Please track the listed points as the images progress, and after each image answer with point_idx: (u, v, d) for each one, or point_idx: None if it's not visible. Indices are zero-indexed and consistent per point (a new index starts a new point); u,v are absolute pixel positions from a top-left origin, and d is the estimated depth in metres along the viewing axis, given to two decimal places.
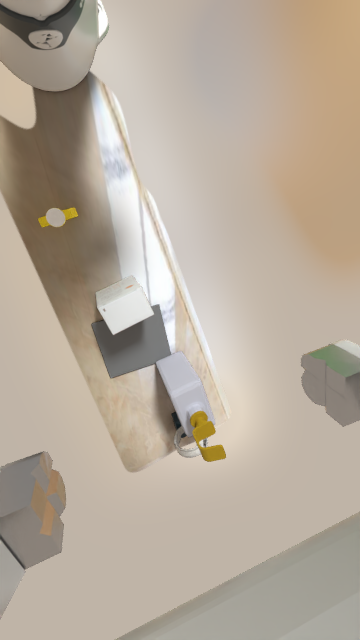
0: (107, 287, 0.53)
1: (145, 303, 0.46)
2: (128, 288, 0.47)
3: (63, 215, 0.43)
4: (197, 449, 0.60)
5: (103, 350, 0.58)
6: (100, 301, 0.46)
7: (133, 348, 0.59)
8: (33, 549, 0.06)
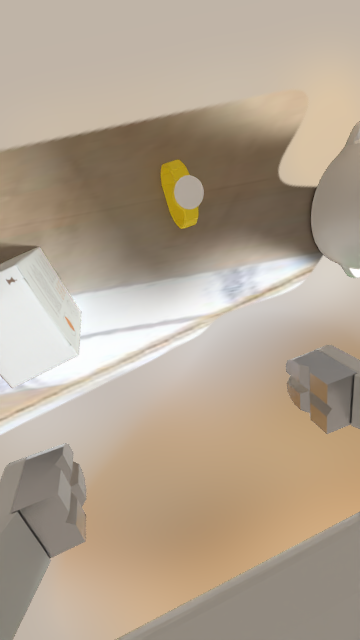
0: (53, 270, 0.28)
1: (38, 369, 0.21)
2: (67, 324, 0.23)
3: (192, 206, 0.25)
4: None
5: None
6: (29, 267, 0.21)
7: None
8: (59, 538, 0.06)
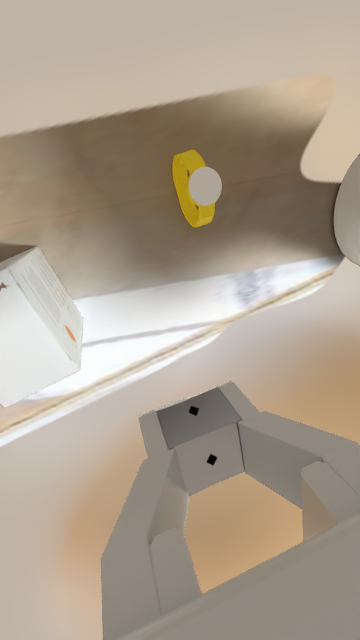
0: (53, 272, 0.25)
1: (34, 386, 0.18)
2: (67, 334, 0.20)
3: (208, 202, 0.22)
4: None
5: None
6: (24, 270, 0.18)
7: None
8: (198, 477, 0.07)
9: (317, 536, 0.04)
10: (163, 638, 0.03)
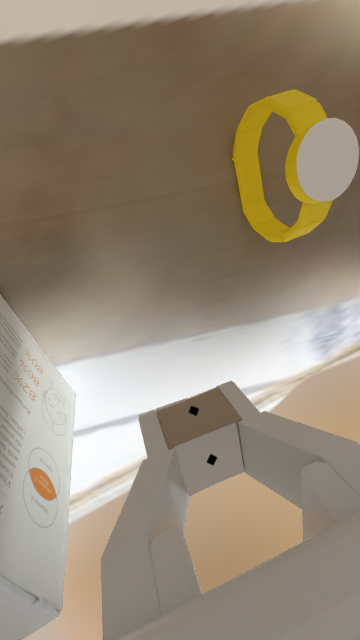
0: (18, 326, 0.14)
1: None
2: (34, 500, 0.09)
3: (330, 196, 0.11)
4: None
5: None
6: None
7: None
8: (198, 477, 0.07)
9: (317, 536, 0.04)
10: (163, 638, 0.03)
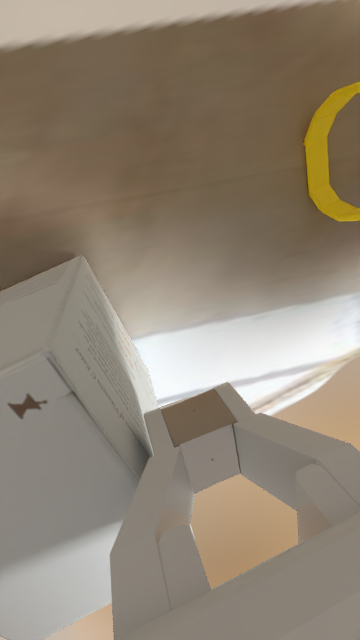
0: (107, 301, 0.14)
1: (96, 601, 0.08)
2: None
3: None
4: None
5: None
6: (79, 327, 0.07)
7: None
8: (203, 475, 0.07)
9: (317, 536, 0.04)
10: (163, 638, 0.03)
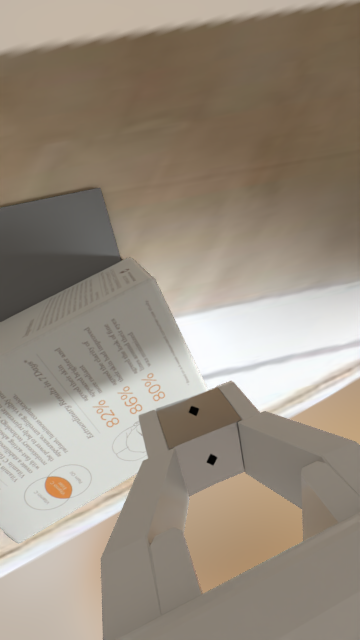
0: (160, 345, 0.11)
1: None
2: (37, 494, 0.11)
3: None
4: None
5: None
6: None
7: None
8: (198, 477, 0.07)
9: (317, 536, 0.04)
10: (163, 638, 0.03)
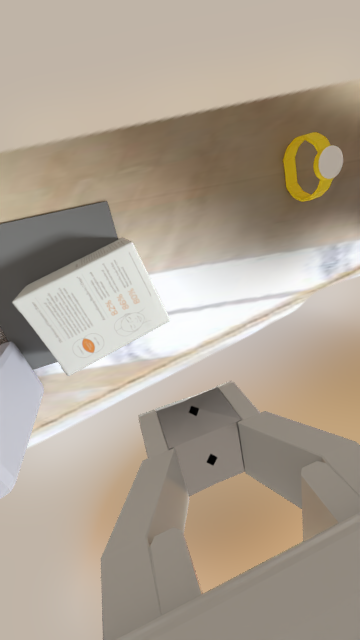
0: (136, 274, 0.23)
1: None
2: (78, 347, 0.24)
3: (331, 176, 0.26)
4: None
5: (40, 222, 0.25)
6: (45, 295, 0.22)
7: None
8: (198, 477, 0.07)
9: (317, 536, 0.04)
10: (163, 638, 0.03)
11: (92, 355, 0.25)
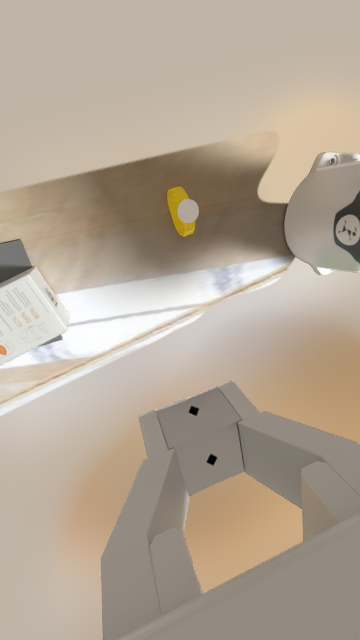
0: (34, 297, 0.31)
1: None
2: None
3: (190, 221, 0.34)
4: None
5: None
6: None
7: None
8: (198, 477, 0.07)
9: (317, 536, 0.04)
10: (163, 638, 0.03)
11: (5, 357, 0.33)
